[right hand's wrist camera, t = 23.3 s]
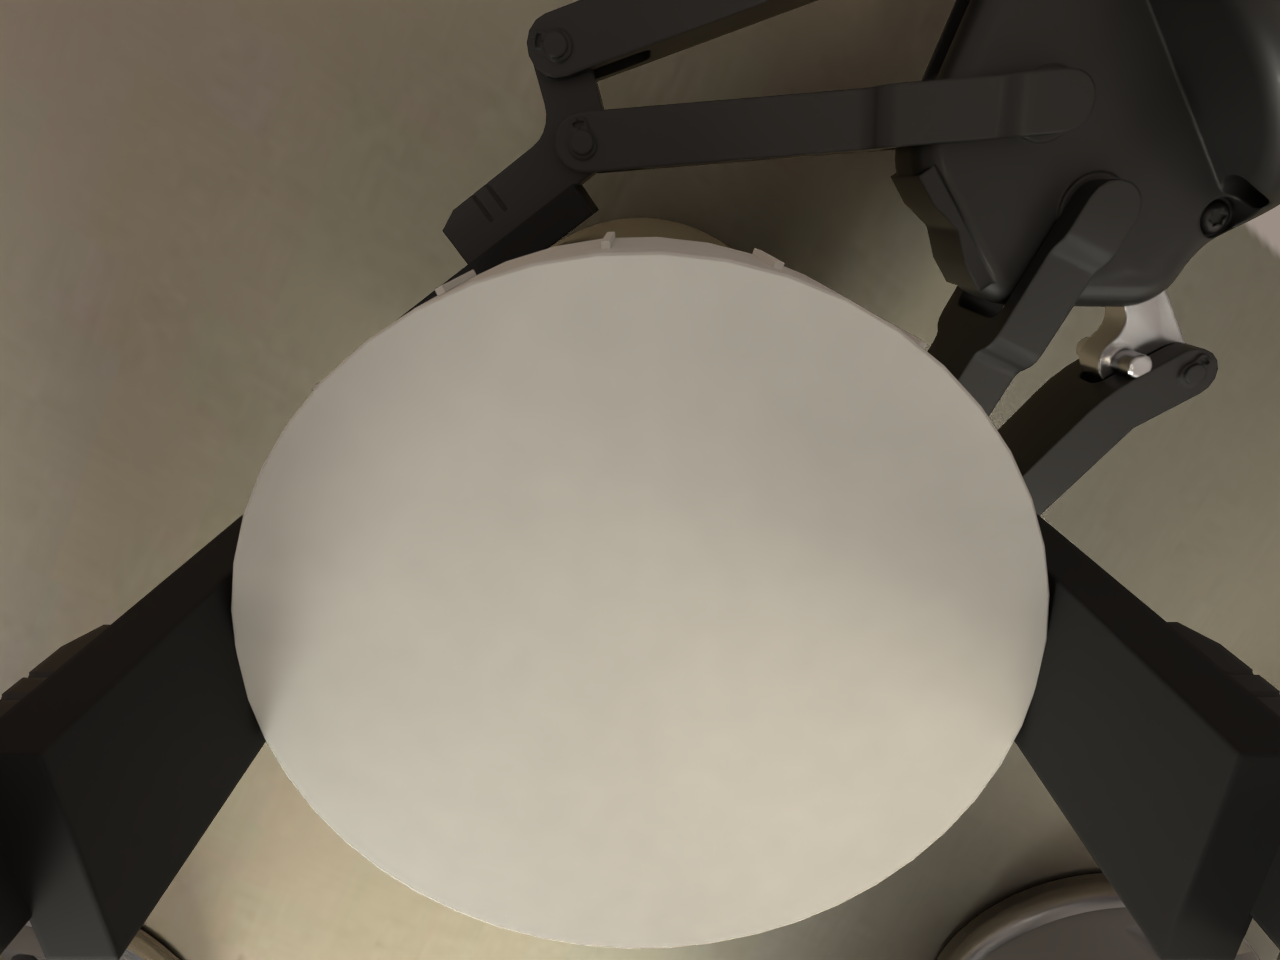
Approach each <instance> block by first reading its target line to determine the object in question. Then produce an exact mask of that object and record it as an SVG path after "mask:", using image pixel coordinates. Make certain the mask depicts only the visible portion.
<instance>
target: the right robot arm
mask: <svg viewBox="0 0 1280 960" xmlns="http://www.w3.org/2000/svg"><path fill="white" fill-rule="evenodd" d="M1036 515H1037V514H1036ZM242 519H243V515H242V516H241V517H239V518H238V519H237V520H236V521H235V522H233V523H232V524H231V525H230V526H229V527H227V528H226V529H225V530H224V531H223V532H221V533H220V534H219V535H218V536H217V537H216V538H214V539H213V540H212V541H211V542H210V543H208V544H207V545H206V546H205V547H204V548H202V549H201V550H200V551H199V552H198V553H196V554H195V555H194V556H193V557H192V558H190V559H189V560H188V561H187V562H186V563H184V564H183V565H182V566H181V567H180V568H178V569H177V570H176V571H175V572H174V573H172V574H171V575H170V576H169V577H168V578H166V579H165V580H164V581H163V582H162V583H160V584H159V585H158V586H157V587H156V588H154V589H153V590H152V591H151V592H150V593H148V594H147V595H146V596H145V597H144V598H142V599H141V600H140V601H139V602H138V603H136V604H135V605H134V606H133V607H132V608H130V609H129V610H128V611H127V612H126V613H124V614H123V615H122V616H121V617H120V618H118V619H117V620H116V621H115V622H114V623H112V624H111V625H103V626H101V627H99V628H97V629H95V630H93V631H91V632H89V633H87V634H85V635H83V636H81V637H79V638H77V639H75V640H73V641H71V642H70V643H68V644H66V645H64V646H62V647H60V648H59V649H58V650H57V651H55V652H54V653H53V654H52V655H50V656H49V657H48V658H47V659H45V660H44V661H43V662H42V663H40V664H39V665H38V666H37V667H35V668H34V669H33V670H32V671H30V672H29V677H28V678H22V679H20V680H19V681H18V682H17V683H15V684H14V685H13V686H12V687H10V688H9V689H8V690H7V691H5V692H4V693H3V694H2V699H1V700H0V960H179V959H178V958H177V957H176V956H175V955H173V954H172V953H171V952H170V951H169V950H168V949H167V948H166V947H165V946H163V945H162V944H161V943H160V942H158V941H157V940H156V939H154V938H153V937H152V936H150V935H149V934H147V933H146V932H144V931H143V930H141V929H140V928H141V926H142V925H143V923H144V922H145V921H146V919H147V918H148V916H149V915H150V913H151V912H152V910H153V909H154V907H155V906H156V904H157V903H158V901H159V900H160V898H161V897H162V895H163V894H164V892H165V891H166V889H167V888H168V886H169V885H170V883H171V882H172V880H173V879H174V877H175V876H176V874H177V873H178V871H179V870H180V868H181V867H182V865H183V864H184V862H185V861H186V859H187V858H188V856H189V855H190V853H191V852H192V850H193V849H194V847H195V846H196V844H197V843H198V841H199V840H200V839H201V837H202V836H203V834H204V833H205V831H206V830H207V828H208V827H209V825H210V824H211V822H212V821H213V819H214V818H215V816H216V815H217V813H218V812H219V810H220V809H221V807H222V806H223V804H224V803H225V801H226V800H227V798H228V797H229V795H230V794H231V792H232V791H233V789H234V788H235V786H236V785H237V783H238V782H239V780H240V779H241V777H242V776H243V774H244V773H245V771H246V770H247V768H248V767H249V765H250V764H251V762H252V761H253V759H254V758H255V757H256V755H257V754H258V752H259V751H260V749H261V748H262V746H263V745H264V743H265V742H266V740H265V738H264V736H263V733H262V731H261V729H260V726H259V724H258V722H257V719H256V717H255V715H254V712H253V710H252V708H251V705H250V703H249V701H248V697H247V693H246V689H245V685H244V681H243V677H242V673H241V669H240V665H239V661H238V657H237V652H236V647H235V640H234V631H233V622H232V613H231V603H232V582H233V562H234V557H235V553H236V548H237V543H238V538H239V533H240V529H241V524H242ZM1037 519H1038V523H1039V527H1040V530H1041V534H1042V538H1043V542H1044V545H1045V554H1046V564H1047V574H1048V584H1049V612H1048V629H1047V641H1046V645H1045V649H1044V654H1043V658H1042V662H1041V666H1040V671H1039V675H1038V679H1037V684H1036V687H1035V691H1034V695H1033V698H1032V700H1031V703H1030V706H1029V708H1028V711H1027V714H1026V717H1025V719H1024V722H1023V725H1022V727H1021V729H1020V731H1019V732H1018V734H1017V736H1016V738H1015V740H1014V741H1015V742H1016V744H1017V745H1018V747H1019V748H1020V750H1021V751H1022V753H1023V754H1024V756H1025V757H1026V759H1027V760H1028V762H1029V763H1030V765H1031V766H1032V768H1033V769H1034V771H1035V772H1036V774H1037V775H1038V777H1039V778H1040V780H1041V781H1042V783H1043V784H1044V786H1045V787H1046V789H1047V790H1048V792H1049V793H1050V795H1051V796H1052V798H1053V799H1054V801H1055V802H1056V804H1057V805H1058V807H1059V808H1060V809H1061V811H1062V812H1063V814H1064V815H1065V817H1066V818H1067V820H1068V821H1069V823H1070V824H1071V826H1072V827H1073V829H1074V830H1075V832H1076V833H1077V835H1078V836H1079V838H1080V839H1081V841H1082V842H1083V844H1084V845H1085V847H1086V848H1087V850H1088V851H1089V853H1090V854H1091V856H1092V857H1093V859H1094V860H1095V862H1096V863H1097V865H1098V866H1099V868H1100V869H1101V871H1102V872H1103V874H1104V875H1105V877H1106V878H1107V880H1108V881H1109V883H1110V884H1111V886H1112V887H1113V889H1114V890H1115V891H1116V893H1117V894H1118V896H1119V897H1120V899H1121V900H1122V902H1123V903H1124V905H1125V906H1126V908H1127V909H1128V911H1129V912H1130V914H1131V915H1132V917H1133V918H1134V920H1135V921H1136V923H1137V924H1138V926H1139V927H1140V929H1141V930H1142V932H1143V933H1144V935H1145V936H1146V938H1147V939H1148V941H1149V942H1150V944H1151V945H1152V947H1153V948H1154V950H1155V951H1156V953H1157V954H1158V956H1159V957H1160V959H1161V960H1235V957H1236V955H1237V953H1238V950H1239V948H1240V946H1241V943H1242V941H1243V939H1244V936H1245V934H1246V932H1247V929H1248V927H1249V925H1250V922H1251V920H1252V918H1254V920H1255V921H1256V922H1257V923H1258V924H1259V926H1260V927H1261V928H1262V929H1263V930H1264V932H1265V933H1266V934H1267V935H1268V936H1269V938H1270V939H1271V940H1272V941H1273V942H1274V944H1275V945H1276V946H1277V947H1278V948H1279V950H1280V691H1278V690H1277V689H1276V688H1275V687H1273V686H1272V685H1271V684H1270V683H1268V682H1267V681H1266V680H1265V679H1263V678H1262V677H1261V676H1260V675H1253V673H1252V669H1251V668H1250V667H1248V666H1247V665H1246V664H1245V663H1243V662H1242V661H1241V660H1239V659H1238V658H1237V657H1236V656H1234V655H1233V654H1232V653H1231V652H1229V651H1228V650H1227V649H1226V648H1224V647H1223V646H1222V645H1221V644H1219V643H1217V642H1215V641H1213V640H1211V639H1209V638H1207V637H1205V636H1203V635H1201V634H1199V633H1197V632H1196V631H1194V630H1192V629H1190V628H1188V627H1186V626H1184V625H1182V624H1180V623H1178V622H1166V621H1165V620H1163V619H1162V618H1161V617H1160V616H1159V615H1157V614H1156V613H1155V612H1154V611H1153V610H1151V609H1150V608H1149V607H1148V606H1147V605H1145V604H1144V603H1143V602H1142V601H1141V600H1139V599H1138V598H1137V597H1136V596H1135V595H1133V594H1132V593H1131V592H1130V591H1129V590H1127V589H1126V588H1125V587H1124V586H1123V585H1121V584H1120V583H1119V582H1118V581H1117V580H1115V579H1114V578H1113V577H1112V576H1111V575H1109V574H1108V573H1107V572H1106V571H1105V570H1103V569H1102V568H1101V567H1100V566H1099V565H1097V564H1096V563H1095V562H1094V561H1093V560H1091V559H1090V558H1089V557H1088V556H1087V555H1085V554H1084V553H1083V552H1082V551H1081V550H1079V549H1078V548H1077V547H1076V546H1075V545H1073V544H1072V543H1071V542H1070V541H1069V540H1067V539H1066V538H1065V537H1064V536H1063V535H1061V534H1060V533H1059V532H1058V531H1057V530H1055V529H1054V528H1053V527H1052V526H1051V525H1049V524H1048V523H1047V522H1046V521H1045V520H1043V519H1042V518H1041V517H1040V516H1039V515H1037ZM1277 960H1280V953H1279V955H1278V957H1277Z"/></svg>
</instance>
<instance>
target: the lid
mask: <svg viewBox="0 0 1280 960" xmlns="http://www.w3.org/2000/svg"><path fill="white" fill-rule="evenodd" d="M784 264H785V263H784V262H782V261H780V260H778V259H776V258H775V257H773V256H771V255H769V254H767V253H765V252H764V251H762V250H759V249H756V248H754V250H753V253H752V254H750V253H747V252H743V251H739V250H735V249H731V248H727V247H723V246H719V245H716V244H712V243H707V242H698V241H689V240H681V239H672V238H663V237H629V238H615V232H607V233H606V235H605V236H604V238H603V239H597V240H591V241H584V242H578V243H572V244H566V245H560V246H554V247H551V248H548V249H545V250H541V251H538V252H535V253H532V254H528V255H525V256H522V257H519V258H515V259H512V260H509V261H506V262H504V263H502V264H500V265H497V266H495V267H493V268H491V269H489V270H487V271H485V272H483V273H480V274H478V275H476V273H475V271H474V270H471V271H469V272H467V273H465V274H463V275H461V276H459V277H457V278H455V279H453V280H451V281H449V282H447V283H445V284H443V285H441V286H439V287H438V288H436V289H435V292H436V294H437V295H438V296H436V297H434V298H432V299H430V300H429V301H427V302H425V303H423V304H421V305H420V306H418V307H416V308H414V309H413V310H411V311H410V312H408V313H407V314H405V315H404V316H402V317H401V318H399V319H398V320H396V321H395V322H393V323H392V324H390V325H389V326H387V327H386V328H384V329H383V330H381V331H380V332H378V333H377V334H375V335H374V336H372V337H370V338H369V339H367V340H366V341H365V342H364V343H362V344H361V345H360V346H359V347H358V348H357V349H356V350H355V351H354V352H352V353H351V354H350V355H349V356H348V357H347V358H346V359H345V360H344V361H342V362H341V363H340V364H339V365H338V366H337V367H336V368H335V369H334V370H332V371H331V372H330V373H329V374H328V375H327V376H326V377H325V378H324V379H323V380H322V381H320V382H319V383H317V384H316V385H315V386H314V387H313V388H312V391H313V392H312V393H311V394H310V395H309V397H308V398H307V399H306V400H305V402H304V403H303V404H302V405H301V407H300V408H299V409H298V410H297V411H296V413H295V414H294V415H293V416H292V418H291V419H290V420H289V421H288V423H287V424H286V426H285V428H284V430H283V431H282V433H281V435H280V436H279V438H278V440H277V442H276V443H275V445H274V447H273V448H272V450H271V452H270V454H269V455H268V457H267V459H266V461H265V462H264V464H263V466H262V467H261V470H260V473H259V475H258V478H257V480H256V483H255V486H254V488H253V491H252V493H251V496H250V499H249V501H248V504H247V506H246V509H245V512H244V514H243V519H242V524H241V529H240V533H239V538H238V543H237V548H236V553H235V557H234V562H233V582H232V603H231V613H232V622H233V631H234V640H235V647H236V652H237V657H238V661H239V665H240V669H241V673H242V677H243V681H244V685H245V689H246V693H247V697H248V701H249V703H250V705H251V708H252V710H253V712H254V715H255V717H256V719H257V722H258V724H259V726H260V729H261V731H262V733H263V736H264V738H265V740H266V742H267V744H268V745H269V747H270V749H271V750H272V752H273V754H274V755H275V757H276V759H277V760H278V762H279V764H280V765H281V767H282V769H283V770H284V772H285V774H286V775H287V777H288V778H289V780H290V781H291V782H292V783H293V785H294V786H295V787H296V788H297V790H298V791H299V792H300V793H301V795H302V796H303V797H304V799H305V800H306V801H307V802H308V804H309V805H310V806H311V807H312V809H313V810H314V811H315V812H316V813H317V814H318V815H319V816H320V817H321V818H322V819H323V820H324V821H325V822H326V823H327V824H328V825H329V826H330V827H331V828H332V829H333V830H334V831H335V832H336V833H337V834H338V835H339V836H340V837H341V838H342V839H343V840H344V841H345V842H346V843H347V844H349V845H350V846H351V847H352V848H354V849H355V850H356V851H357V852H359V853H360V854H361V855H363V856H364V857H365V858H366V859H368V860H369V861H370V862H371V863H373V864H374V865H375V866H377V867H378V868H379V869H380V870H382V871H384V872H385V873H387V874H388V875H390V876H392V877H393V878H395V879H396V880H398V881H400V882H401V883H403V884H404V885H406V886H408V887H409V888H411V889H412V890H414V891H416V892H417V893H419V894H421V895H423V896H426V897H428V898H430V899H432V900H434V901H436V902H438V903H440V904H442V905H444V906H446V907H448V908H450V909H452V910H454V911H456V912H459V913H462V914H464V915H467V916H470V917H472V918H475V919H478V920H480V921H483V922H486V923H488V924H491V925H494V926H496V927H500V928H504V929H508V930H511V931H515V932H519V933H523V934H526V935H530V936H534V937H538V938H542V939H548V940H554V941H560V942H566V943H572V944H578V945H586V946H599V947H613V948H673V947H682V946H691V945H701V944H710V943H716V942H721V941H726V940H731V939H736V938H741V937H746V936H751V935H756V934H759V933H763V932H766V931H769V930H772V929H776V928H779V927H782V926H786V925H789V924H792V923H796V922H799V921H801V920H804V919H806V918H808V917H811V916H813V915H816V914H818V913H821V912H823V911H825V910H828V909H830V908H833V907H835V906H838V905H840V904H841V903H843V902H845V901H847V900H849V899H851V898H853V897H855V896H856V895H858V894H860V893H862V892H864V891H866V890H868V889H870V888H871V887H873V886H875V885H877V884H878V883H880V882H881V881H883V880H884V879H886V878H887V877H889V876H890V875H892V874H893V873H895V872H896V871H898V870H899V869H901V868H902V867H904V866H905V865H906V864H908V863H909V862H911V861H912V860H914V859H915V858H916V857H917V856H918V855H919V854H921V853H922V852H923V851H924V850H925V849H927V848H928V847H929V846H930V845H931V844H932V843H934V842H935V841H936V840H937V839H938V838H939V837H941V836H942V835H943V834H944V833H945V832H946V831H947V830H948V829H949V828H950V827H951V826H952V825H953V824H954V823H955V822H956V821H957V819H958V818H959V817H960V816H961V815H962V814H963V813H964V812H965V811H966V810H967V809H968V808H969V807H970V806H971V804H972V803H973V802H974V801H975V800H976V799H977V797H978V796H979V795H980V793H981V792H982V790H983V789H984V788H985V786H986V785H987V784H988V782H989V781H990V779H991V778H992V777H993V775H994V774H995V772H996V771H997V770H998V768H999V767H1000V766H1001V764H1002V762H1003V760H1004V758H1005V757H1006V755H1007V753H1008V751H1009V749H1010V747H1011V745H1012V744H1013V742H1014V740H1015V738H1016V736H1017V734H1018V732H1019V731H1020V729H1021V727H1022V725H1023V722H1024V719H1025V717H1026V714H1027V711H1028V708H1029V706H1030V703H1031V700H1032V698H1033V695H1034V691H1035V687H1036V684H1037V679H1038V675H1039V671H1040V666H1041V662H1042V658H1043V654H1044V649H1045V645H1046V641H1047V629H1048V612H1049V584H1048V574H1047V564H1046V554H1045V545H1044V542H1043V538H1042V534H1041V530H1040V527H1039V523H1038V519H1037V515H1036V512H1035V508H1034V504H1033V500H1032V497H1031V495H1030V493H1029V490H1028V488H1027V486H1026V484H1025V482H1024V479H1023V477H1022V475H1021V473H1020V470H1019V468H1018V466H1017V464H1016V461H1015V459H1014V457H1013V455H1012V453H1011V451H1010V449H1009V448H1008V446H1007V445H1006V443H1005V442H1004V440H1003V438H1002V437H1001V435H1000V434H999V432H998V431H997V429H996V428H995V426H994V425H993V423H992V422H991V420H990V419H989V417H988V416H987V414H986V413H985V411H984V410H983V408H982V407H981V406H980V404H979V403H978V402H977V401H976V400H975V399H974V398H973V397H972V396H971V394H970V393H969V392H968V391H967V390H966V389H965V388H964V387H963V386H962V385H961V383H960V382H959V381H958V380H957V379H956V378H955V377H954V376H953V375H952V374H951V372H950V371H949V370H948V369H947V368H946V367H945V366H944V365H943V364H942V363H940V362H939V361H938V360H937V359H936V358H934V357H933V356H932V355H931V354H929V353H928V352H927V351H926V350H924V349H925V348H926V347H927V344H926V343H924V342H923V341H922V340H920V339H919V338H917V337H915V336H913V335H911V334H909V333H908V332H906V331H904V330H902V329H900V328H899V327H897V326H895V325H893V324H891V323H890V322H888V321H886V320H884V319H882V318H881V317H879V316H876V315H875V314H873V313H871V312H870V311H868V310H866V309H865V308H863V307H861V306H860V305H858V304H856V303H854V302H853V301H851V300H849V299H848V298H846V297H844V296H842V295H840V294H839V293H837V292H835V291H833V290H831V289H830V288H828V287H826V286H824V285H822V284H821V283H819V282H817V281H815V280H813V279H811V278H810V277H808V276H806V275H804V274H802V273H799V272H797V271H794V270H792V269H790V268H787V267H785V266H784Z"/></svg>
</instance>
